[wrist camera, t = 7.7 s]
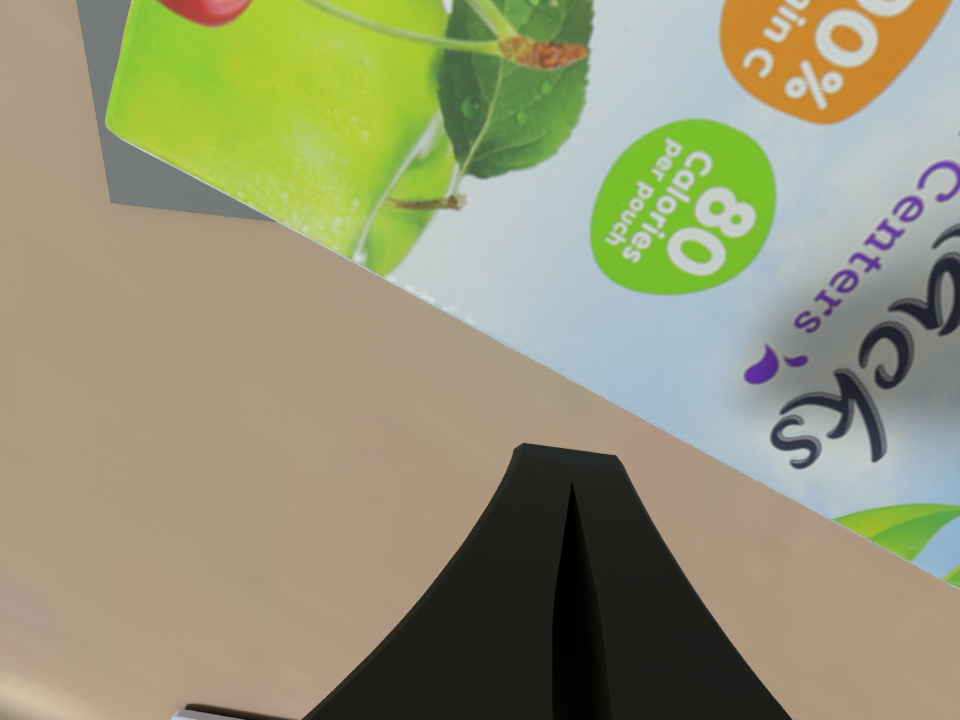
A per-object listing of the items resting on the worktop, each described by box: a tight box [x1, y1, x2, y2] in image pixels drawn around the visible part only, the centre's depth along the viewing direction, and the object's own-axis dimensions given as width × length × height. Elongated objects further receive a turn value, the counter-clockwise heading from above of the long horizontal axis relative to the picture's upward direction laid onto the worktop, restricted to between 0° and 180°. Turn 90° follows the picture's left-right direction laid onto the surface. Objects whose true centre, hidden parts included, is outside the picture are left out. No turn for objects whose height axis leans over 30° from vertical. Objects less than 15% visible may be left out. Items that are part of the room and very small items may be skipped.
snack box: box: [104, 0, 960, 590], centre depth 12 cm, size 21×6×15 cm
